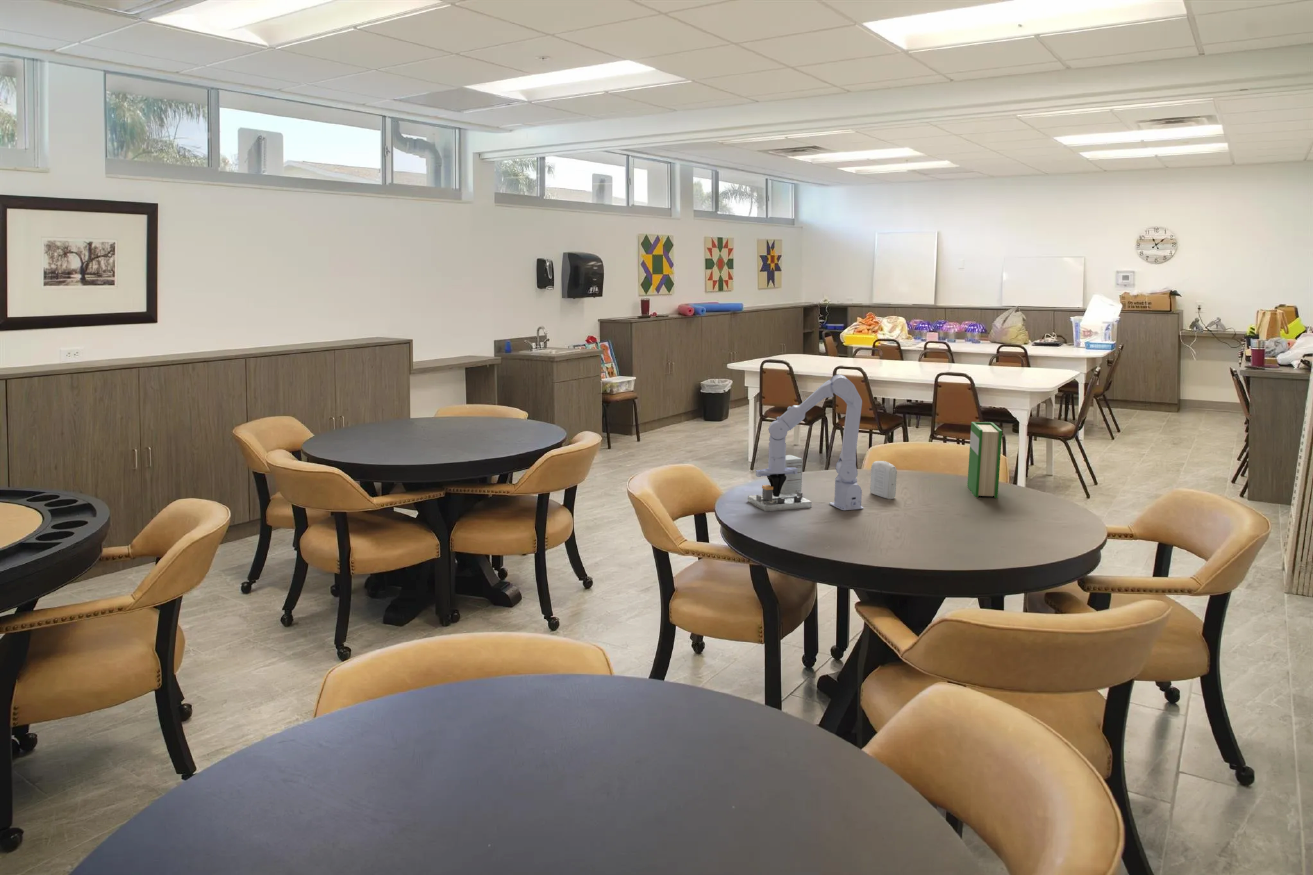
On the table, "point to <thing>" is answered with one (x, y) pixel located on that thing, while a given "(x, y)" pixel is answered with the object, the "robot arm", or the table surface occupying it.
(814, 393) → the robot arm
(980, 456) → the hardback book
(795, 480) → the supplement box
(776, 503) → the console
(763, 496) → the fader tab
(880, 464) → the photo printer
